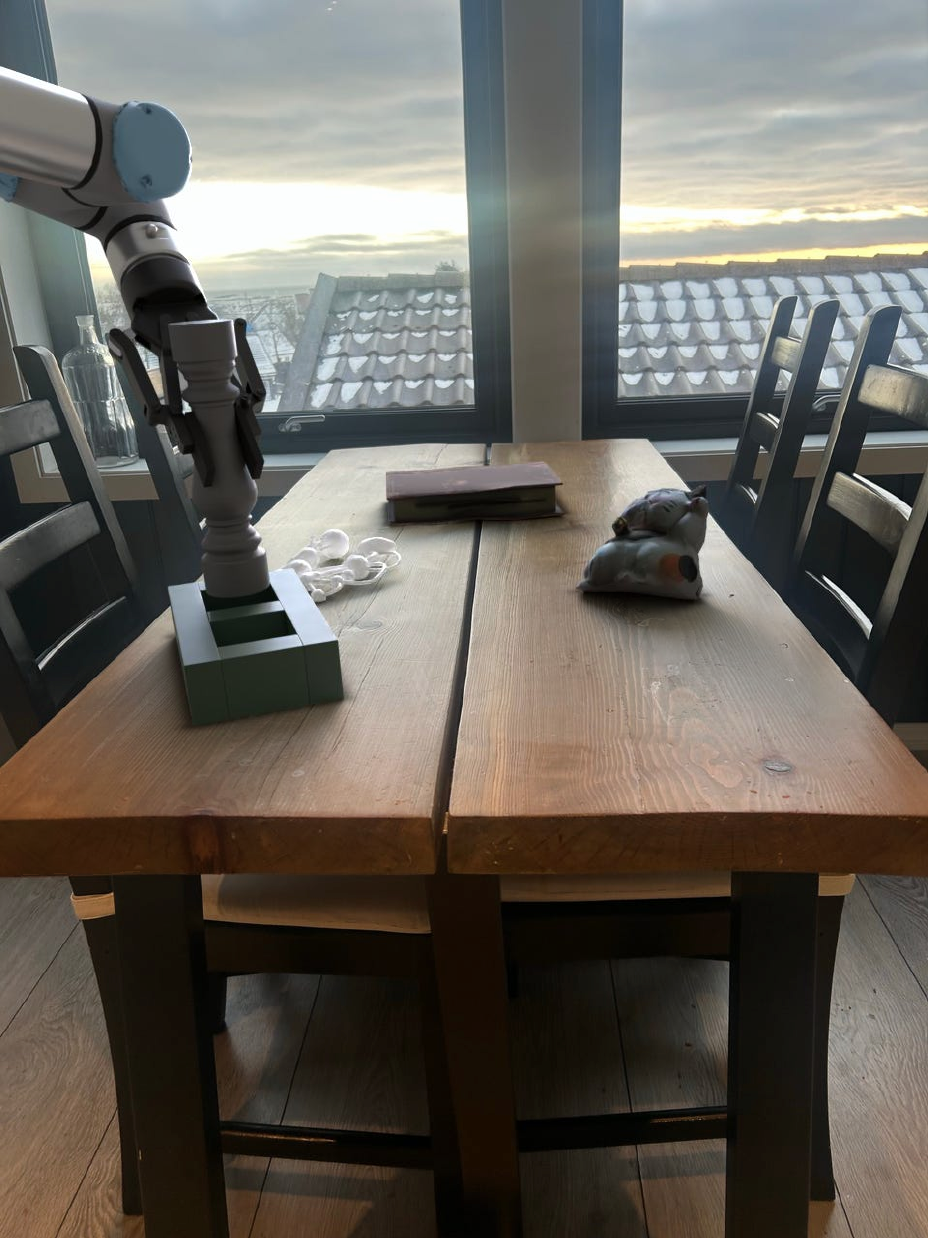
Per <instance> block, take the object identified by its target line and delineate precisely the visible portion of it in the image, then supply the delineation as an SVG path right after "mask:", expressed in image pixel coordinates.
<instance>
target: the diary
mask: <svg viewBox="0 0 928 1238" xmlns="http://www.w3.org/2000/svg"><path fill="white" fill-rule="evenodd" d="M563 485H564V483H563V481H562V480H561V479H560V477H559V476H558V474H557V473H556V472H555V471H554V470H553V468H552V467H550V466H549V465H548V463H546V461H544V460H540V461H529V462H520V463H510V464H496V465H471V466H470V465H469V466H466V465H465V466H456V467H455V466H453V467H445V468H444V467H443V468H435V469H427V470H426V469H425V470H391V471H390V470H389V471H386V472H385V497H386V500H387V508H388V509H387V515H388V524H389V525H393V526H403V525H405V526H407V525H409V526H410V525H435V524H444V523H454V522H455V523H456V522H465V521H472V520H490V521H491V520H493V521H497V520H498V521H499V520H500V521H520V520H521V521H522V520H528V519H536V518H544V517H552V516H554V517H555V516H563V515H564V512H563V510H562V508H560V506H559V504H558V503H557V502H556V486H557V487H559V486H563Z"/></svg>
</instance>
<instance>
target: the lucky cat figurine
mask: <svg viewBox="0 0 928 1238" xmlns="http://www.w3.org/2000/svg"><path fill="white" fill-rule="evenodd" d="M707 493H708V492H707V486H706V484H705V485H704V484H703V485H699V486H697V487H694V488H693V489H692V490H690V491H686V490H683V489H680V488H675V487H662V488H658V489H654V490H648V491H647V492H646V494H645V495H644V496H641V497H639V498H637V499H634V500H633V501H631V502H629V504H628V505H627V506H626V507H625V508H624V510H622V512H621V513H620V515H619V516H617V517H616V518H615V520H614V521H613V523H612V524H611V529H612V531H613V533H614V535H615V536H613V537H611V538H609V539H608V540H606V541H605V542H604V545H602V546H601V547H599V548H598V549H597V550H596V551H595V552H594V555H593V556H592V557H591V558H590V559H589V561H588V562H587V564H586V565H585V567H584V570H583V580H580V581H579V582H578V583H577V585H574V588H575V589H577V590H579V591H582V592H583V593H597V592H598V593H600V592H604V593H605V592H609V593H611V592H612V593H613V592H615V593H616V592H619V593H620V592H624V593H632V594H640V595H649V596H657V597H664V598H671V599H672V598H673V599H679V600H684V601H689V602H693V603H695V602H696V601H697V600H699V598H700V596H701V593H702V590H703V587H704V584H703V577H702V575H701V570H700V556H699V554H700V551H701V549H702V547H703V546H704V543H705V541H706V534H707V528H708V525H707V524H708V523H707V522H708V516H709V512H710V511H709V510H710V509H709V501H708V500H707Z"/></svg>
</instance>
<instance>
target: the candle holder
mask: <svg viewBox="0 0 928 1238" xmlns="http://www.w3.org/2000/svg"><path fill="white" fill-rule="evenodd" d="M233 323H234V320H233V319H219V320H204V321H191V322H180V323H172V324H168V329H169V335H170V342H171V348H172V355H173V361H175V362H176V363H177V367H178V372H179V373H180V374H181V375H182V377H183V380H184V381H185V382H187V386H186V388H184V389H183V391H181V396H182V401H184V402H185V403H187V404H188V407H189V408H190V412H191V411H193V412H194V415H195V418H196V420H197V423H198V425H199V428H200V430H201V433H202V435H203V438H204V440H205V443H206V446H207V448H208V451H209V453H210V456H211V458H212V461H213V463H214V466H215V468H216V470H215V475H214V480H213V484H212V486H211V487H205V488H204V486H203V484H202V481H201V479H200V476H199V473H198V471H197V468H196V466H195V463H194V462H193V466H192V467H193V469H192V479H191V492H190V494H191V500H192V503H193V505H194V507H195V508H196V510H197V511H198V512H199V514H200V515H201V516H202V517H203V518H204V519H205V520H204V523H205V525H206V526H207V527H208V530H206V532H205V534H204V538H203V539H202V540H201V543H200V544H201V548H202V549H203V550H204V551H205V552H206V553H204V554H203V555H202V556H201V557H200V561H201V568H202V569H201V570H202V574H203V581H204V582H205V589H206V592H207V594H208V595H211V596H214V597H224V598H227V597H240V596H246V595H251V594H254V593H257V592H261V591H263V590H264V589H266V588H268V586H269V585H270V579H269V572H270V571H269V565H268V558H267V557H268V555H267V551H266V550H265V549H264V547H261V546H259V545H260V544H261V543H262V540H263V539H262V535H261V534H260V533H259V531H257V530H256V529H255V527H253V525H252V524H251V522H250V521H251V520H252V519H253V516H252V515H251V513H252V511H253V510H254V509H255V506H256V504H257V501H258V496H259V491H258V486H257V483H256V481H255V480H256V479H254V480H252V478H251V476H250V473H249V471H248V468H247V466H246V463H245V459H244V455H243V452H242V448H241V444H240V440H239V437H238V433H237V425H236V418H235V410H234V403H235V398H237V397H238V396H239V394H240V391H239V388H237V387H236V386H235V385H233V384H232V383H231V382H230V378H231V376H232V372H233V371H234V369H235V365H236V364H235V357H236V356H237V348H236V341H235V333H234V325H233ZM233 373H234V372H233Z"/></svg>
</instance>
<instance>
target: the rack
mask: <svg viewBox="0 0 928 1238" xmlns="http://www.w3.org/2000/svg"><path fill="white" fill-rule="evenodd" d="M268 572H269V579H270V585H269V586H268V588H266V589H264V590H263V591H261V592H257V593H254V594H251V595H246V596H240V597H227V598H224V597H214V596H211V595H208V594H207V592H206V589H205V582H204V580H203V581H198V582H197V581H196V582H189V583H182V584H176V585H169V586H167V592H168V599H169V605H170V611H171V617H172V624H173V629H174V635H175V641H176V646H177V650H178V656H179V661H180V666H181V671H182V675H183V681H184V685H185V690H186V697H187V700H188V705H189V709H190V710H189V712H190V716H191V722H192V726H193V727H198V726H203V725H208V724H209V725H210V724H214V723H220V722H225V721H230V720H237V719H240V718H245V717H251V716H257V715H263V714H268V713H273V712H279V711H283V710H289V709H294V708H295V709H296V708H300V707H304V706H312V705H316V704H321V703H327V702H332V701H337V700H343V699H345V693H344V682H343V674H342V665H341V664H342V663H341V654H340V645H339V639H338V637H337V635H336V634H335V633H334V631H333V630H332V628H331V626H330V625H329V623H328V622H327V620H326V619H325V617H324V616H323V614H322V612H321V611H320V609H319V607H318V606H317V605H316V602H315V603H314V601H313V600H312V598H311V597H310V596H311V594H310V593H309V592H307V590H306V589H305V587H304V585H303V584H302V582H301V581H300V579H299V578H298V576H297V574H296V573H295V571H294V570H293V568H291V569H285V570H278V571H276V570H272V571H268Z"/></svg>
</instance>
